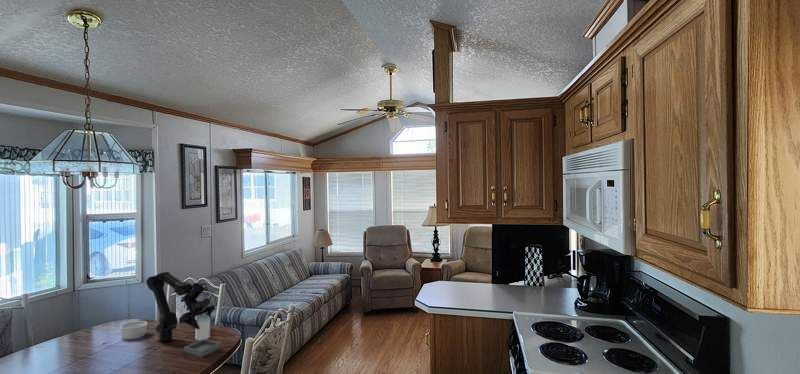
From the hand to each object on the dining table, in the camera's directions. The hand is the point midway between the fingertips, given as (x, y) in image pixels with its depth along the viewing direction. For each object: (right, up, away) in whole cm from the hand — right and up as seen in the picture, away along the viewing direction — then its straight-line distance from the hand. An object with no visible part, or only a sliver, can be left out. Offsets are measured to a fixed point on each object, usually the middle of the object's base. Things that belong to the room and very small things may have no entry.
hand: (204, 326), depth 202 cm
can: (-2, -7, 0) cm, 7 cm away
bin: (-2, -13, 0) cm, 13 cm away
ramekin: (-52, -12, +17) cm, 56 cm away
